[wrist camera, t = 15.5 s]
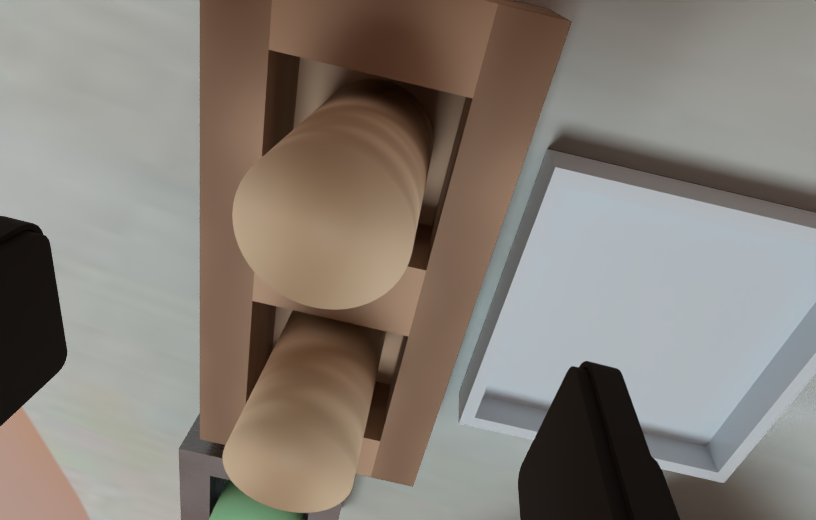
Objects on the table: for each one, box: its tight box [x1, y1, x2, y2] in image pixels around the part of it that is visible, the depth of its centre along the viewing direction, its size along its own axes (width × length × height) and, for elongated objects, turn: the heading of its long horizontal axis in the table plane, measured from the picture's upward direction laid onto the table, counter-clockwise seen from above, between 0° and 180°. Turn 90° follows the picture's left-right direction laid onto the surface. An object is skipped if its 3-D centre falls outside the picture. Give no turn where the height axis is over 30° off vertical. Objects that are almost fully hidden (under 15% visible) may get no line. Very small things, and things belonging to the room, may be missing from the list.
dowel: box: [232, 79, 434, 310], centre depth 16 cm, size 4×4×8 cm
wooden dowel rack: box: [200, 0, 571, 486], centre depth 20 cm, size 10×20×4 cm, turn 168°
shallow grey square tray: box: [459, 149, 816, 483], centre depth 22 cm, size 13×13×2 cm
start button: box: [209, 480, 304, 520], centre depth 26 cm, size 4×4×3 cm
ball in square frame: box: [179, 414, 343, 520], centre depth 28 cm, size 8×8×4 cm
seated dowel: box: [222, 310, 386, 513], centre depth 20 cm, size 4×4×8 cm
